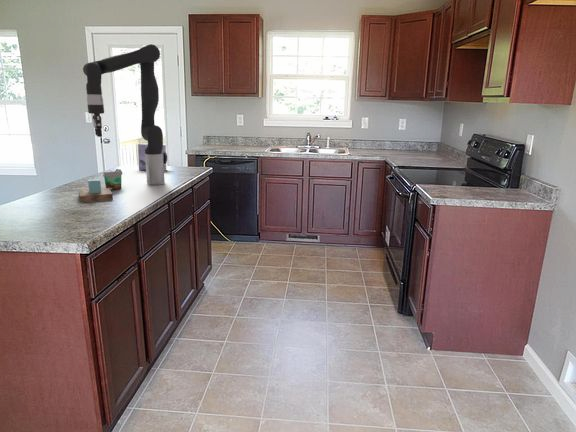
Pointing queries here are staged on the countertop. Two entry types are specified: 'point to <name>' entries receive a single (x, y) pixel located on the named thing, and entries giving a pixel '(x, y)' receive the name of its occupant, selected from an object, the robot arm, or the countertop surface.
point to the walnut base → (95, 195)
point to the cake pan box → (142, 156)
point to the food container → (113, 179)
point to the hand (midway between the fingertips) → (98, 136)
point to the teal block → (94, 186)
